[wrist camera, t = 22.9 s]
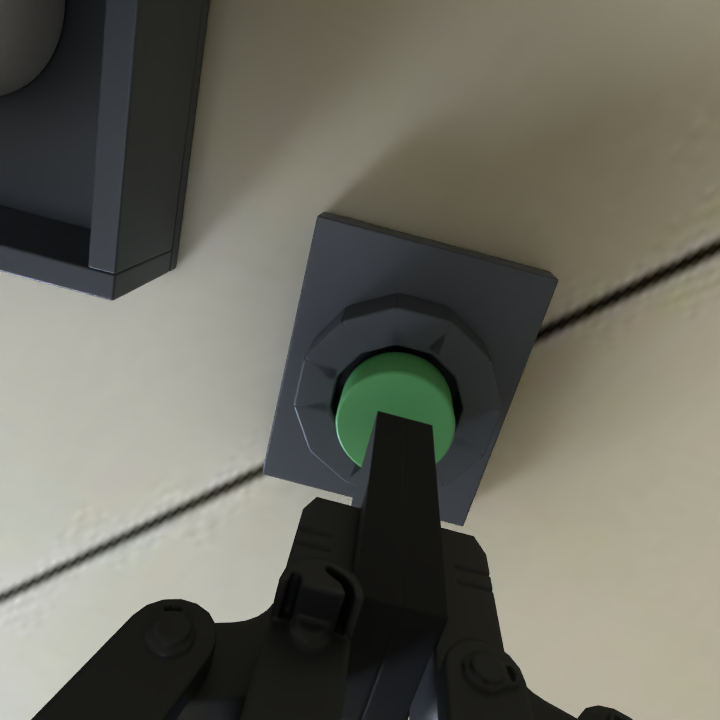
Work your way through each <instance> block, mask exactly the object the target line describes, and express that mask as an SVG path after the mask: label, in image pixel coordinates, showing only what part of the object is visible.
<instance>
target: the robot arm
mask: <svg viewBox="0 0 720 720" xmlns="http://www.w3.org/2000/svg"><path fill="white" fill-rule="evenodd" d="M489 574H490V573H489V568H488V562H487V557H486V554H485V552H484V551H483V549H482V548H481V546H480V545H479V543H478V542H477V540H476V539H475V537H474V536H471V535H467V534H463V533H459V532H455V531H451V530H448V529H444V528H441V524H440V512H439V500H438V487H437V475H436V463H435V450H434V438H433V426H432V425H430V424H426V423H422V422H418V421H415V420H411V419H407V418H403V417H399V416H396V415H392V414H388V413H384V412H380V411H377V415H376V418H375V422H374V425H373V429H372V432H371V435H370V439H369V442H368V446H367V449H366V453H365V456H364V460H363V463H362V466H361V470H360V473H359V477H358V480H357V484H356V487H355V490H354V494H353V499H352V505H351V506H349V505H345V504H342V503H338V502H334V501H330V500H326V499H322V498H319V497H316V498H315V499H314V500H313V501H312V502H311V503H309V504H308V505H307V506H306V507H305V508H304V509H303V512H302V515H301V518H300V522H299V525H298V529H297V532H296V535H295V539H294V542H293V545H292V549H291V552H290V556H289V559H288V562H287V566H286V569H285V570H284V572H283V573H282V575H281V577H280V579H279V583H278V587H277V591H276V595H275V599H274V603H273V604H272V605H271V607H270V608H269V609H268V610H267V611H265V612H264V613H262V614H261V615H259V616H258V617H255V618H252V619H249V620H247V621H240V622H231V623H214V621H213V619H212V617H211V616H210V614H209V613H208V612H207V611H206V610H204V609H203V608H202V607H200V606H199V605H198V604H196V603H192V602H189V601H186V600H182V599H166V600H161V601H158V602H155V603H152V604H149V605H146V606H145V607H143V608H142V609H141V610H139V611H138V612H137V613H135V614H134V615H133V616H132V617H131V618H130V619H129V620H128V621H127V622H126V623H125V624H124V625H123V626H122V627H121V628H120V629H119V630H118V631H117V632H116V633H115V634H114V635H113V636H112V637H111V638H110V639H109V640H108V641H107V642H106V643H105V644H104V645H103V646H102V647H101V648H100V649H99V650H98V652H97V653H96V654H95V655H94V656H93V657H92V658H91V659H90V660H89V661H88V662H87V663H86V664H85V665H84V666H83V667H82V668H81V669H80V670H79V671H78V672H77V673H76V674H75V675H74V676H73V677H72V678H71V679H70V680H69V681H68V682H67V683H66V684H65V685H64V686H63V687H62V689H61V690H60V691H59V692H58V693H57V694H56V695H55V696H54V697H53V698H52V699H51V700H50V701H49V702H48V703H47V704H46V705H45V706H44V707H43V708H42V709H41V710H40V711H39V712H38V713H37V714H36V715H35V716H34V717H33V718H32V719H31V720H408V717H409V720H632V719H631V718H630V717H628V716H626V715H624V714H622V713H620V712H619V711H617V710H615V709H612V708H608V707H603V706H599V705H598V706H593V707H589V708H586V709H585V710H584V711H583V712H582V713H581V714H580V716H579V717H578V719H577V718H575V717H573V716H571V715H570V714H568V713H566V712H564V711H562V710H561V709H559V708H557V707H555V706H553V705H552V704H550V703H548V702H546V701H545V700H543V699H542V698H540V697H539V696H537V695H536V694H534V693H533V692H532V691H531V690H529V689H528V688H527V686H526V682H525V680H524V677H523V675H522V673H521V670H520V668H519V667H518V666H517V665H516V663H515V662H514V661H513V660H512V658H511V657H510V656H509V655H508V654H507V653H505V652H504V648H503V642H502V637H501V632H500V626H499V621H498V616H497V610H496V605H495V600H494V594H493V593H492V584H491V578H490V577H489Z"/></svg>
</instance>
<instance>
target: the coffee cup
mask: <svg viewBox="0 0 720 720" xmlns="http://www.w3.org/2000/svg"><path fill="white" fill-rule="evenodd" d="M64 14H65V0H0V96H2V95H6V94H9V93H12V92H14V91H17V90H19V89H20V88H22V87H24V86H25V85H27V84H28V83H30V82H31V81H32V80H33V79H35V78H36V77H37V76H38V75H39V74H40V73H41V71H42V70H43V69H44V68H45V66H46V65H47V63H48V62H49V60H50V59H51V57H52V55H53V53H54V51H55V49H56V47H57V44H58V41H59V38H60V35H61V31H62V27H63V21H64Z"/></svg>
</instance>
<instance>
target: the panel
mask: <svg viewBox="0 0 720 720" xmlns="http://www.w3.org/2000/svg"><path fill="white" fill-rule="evenodd" d="M557 283H558V279H557V278H556V277H555V276H554V275H553V274H551V273H550V272H548V271H545V270H541V269H537V268H533V267H530V266H526V265H522V264H518V263H515V262H511V261H507V260H503V259H500V258H496V257H492V256H488V255H485V254H481V253H477V252H473V251H470V250H466V249H462V248H458V247H455V246H451V245H447V244H443V243H440V242H436V241H432V240H428V239H425V238H421V237H417V236H413V235H410V234H406V233H402V232H398V231H394V230H391V229H387V228H383V227H379V226H376V225H372V224H368V223H364V222H361V221H357V220H353V219H349V218H346V217H342V216H338V215H334V214H331V213H327V212H323V213H321V214H320V215H319V216H318V217H317V221H316V225H315V230H314V235H313V239H312V244H311V249H310V253H309V258H308V263H307V267H306V272H305V276H304V281H303V286H302V290H301V295H300V300H299V304H298V309H297V314H296V318H295V323H294V328H293V332H292V337H291V342H290V346H289V351H288V356H287V360H286V365H285V370H284V374H283V379H282V383H281V388H280V393H279V397H278V402H277V407H276V411H275V416H274V421H273V425H272V430H271V435H270V439H269V444H268V449H267V453H266V458H265V463H264V467H263V474H265V475H268V476H272V477H276V478H280V479H284V480H288V481H291V482H295V483H299V484H303V485H307V486H310V487H314V488H318V489H322V490H326V491H330V492H333V493H337V494H341V495H345V496H349V497H352V498H353V494H354V490H355V487H356V484H357V480H358V477H359V473H360V470H361V467H360V466H359V465H357V464H356V463H355V462H354V461H353V460H352V459H351V458H350V457H349V456H348V455H347V454H346V452H345V451H344V449H343V448H342V446H341V444H340V442H339V439H338V436H337V432H336V414H337V409H338V405H339V402H340V398H341V395H342V391H343V388H344V385H345V382H346V381H347V379H348V377H349V375H350V374H351V373H352V371H353V370H354V369H355V368H356V367H357V366H358V365H360V364H361V363H362V362H364V361H365V360H367V359H368V358H371V357H373V356H375V355H379V354H382V353H388V352H404V353H409V354H413V355H416V356H419V357H421V358H423V359H425V360H427V361H428V362H430V363H431V364H432V365H434V366H435V367H436V368H437V369H438V370H439V371H440V372H441V374H442V375H443V376H444V378H445V380H446V382H447V384H448V386H449V389H450V392H451V398H452V404H453V410H454V416H455V434H454V438H453V441H452V443H451V446H450V448H449V449H448V451H447V453H446V454H445V455H444V456H443V458H442V459H441V460H440V461H439V462H438V463H437V464H436V475H437V487H438V500H439V512H440V521H444V522H448V523H452V524H456V525H460V526H463V525H464V522H465V520H466V517H467V515H468V512H469V510H470V507H471V504H472V502H473V499H474V497H475V494H476V492H477V489H478V486H479V484H480V481H481V479H482V476H483V474H484V471H485V468H486V466H487V463H488V461H489V458H490V456H491V453H492V450H493V448H494V445H495V443H496V440H497V438H498V435H499V432H500V430H501V427H502V425H503V422H504V420H505V417H506V414H507V412H508V409H509V407H510V404H511V401H512V399H513V396H514V394H515V391H516V389H517V386H518V383H519V381H520V378H521V376H522V373H523V371H524V368H525V365H526V363H527V360H528V358H529V355H530V353H531V350H532V347H533V345H534V342H535V340H536V337H537V335H538V332H539V329H540V327H541V324H542V322H543V319H544V317H545V314H546V311H547V309H548V306H549V304H550V301H551V298H552V296H553V293H554V291H555V288H556V286H557Z"/></svg>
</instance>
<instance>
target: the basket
mask: <svg viewBox="0 0 720 720" xmlns="http://www.w3.org/2000/svg"><path fill="white" fill-rule="evenodd" d="M208 8H209V0H65V14H64V21H63V27H62V31H61V35H60V38H59V41H58V44H57V47H56V49H55V51H54V53H53V55H52V57H51V59H50V60H49V62H48V63H47V65H46V66H45V68H44V69H43V70H42V71H41V73H40V74H39V75H38V76H37V77H36V78H35V79H33V80H32V81H31V82H30V83H28V84H27V85H25V86H24V87H22V88H20V89H19V90H17V91H14V92H12V93H9V94H6V95H2V96H0V271H1V272H5V273H9V274H13V275H17V276H20V277H24V278H28V279H32V280H35V281H39V282H43V283H47V284H51V285H54V286H58V287H62V288H66V289H70V290H73V291H77V292H81V293H85V294H89V295H92V296H96V297H100V298H104V299H107V300H111V301H112V300H115V299H117V298H119V297H121V296H123V295H125V294H127V293H129V292H130V291H132V290H134V289H136V288H138V287H140V286H142V285H144V284H146V283H148V282H150V281H152V280H154V279H156V278H158V277H160V276H161V275H163V274H165V273H167V272H168V271H171V270H173V269H175V268H176V261H177V253H178V245H179V237H180V229H181V221H182V213H183V205H184V197H185V190H186V182H187V174H188V166H189V158H190V150H191V142H192V134H193V126H194V119H195V111H196V103H197V95H198V87H199V79H200V71H201V63H202V55H203V48H204V40H205V32H206V24H207V16H208Z"/></svg>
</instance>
